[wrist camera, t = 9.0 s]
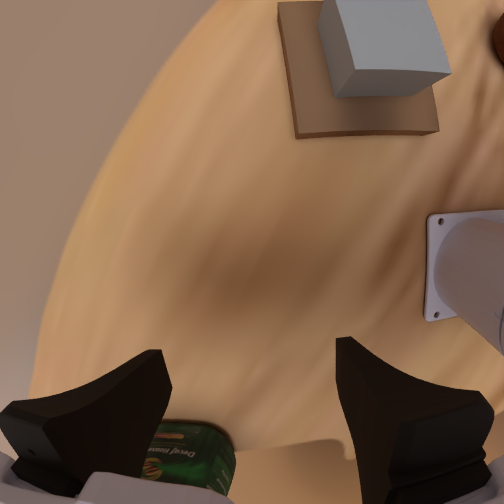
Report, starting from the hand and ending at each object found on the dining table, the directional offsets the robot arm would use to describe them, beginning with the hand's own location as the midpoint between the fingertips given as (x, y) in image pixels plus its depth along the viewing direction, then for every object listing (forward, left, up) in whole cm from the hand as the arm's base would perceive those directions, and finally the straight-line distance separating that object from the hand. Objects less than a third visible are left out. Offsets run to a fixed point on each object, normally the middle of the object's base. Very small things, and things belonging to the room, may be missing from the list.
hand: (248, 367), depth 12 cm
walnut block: (-8, -14, -10) cm, 19 cm away
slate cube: (-8, -14, -7) cm, 18 cm away
